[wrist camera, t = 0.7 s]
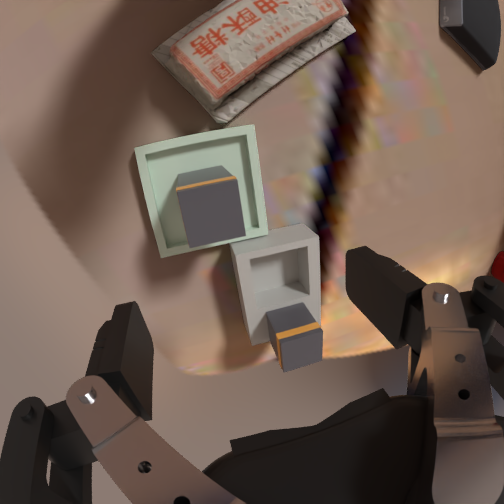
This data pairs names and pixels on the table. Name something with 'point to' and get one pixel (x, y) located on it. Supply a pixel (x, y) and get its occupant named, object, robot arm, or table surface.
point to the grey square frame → (281, 293)
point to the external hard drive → (473, 27)
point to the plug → (210, 206)
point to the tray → (194, 158)
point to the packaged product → (249, 48)
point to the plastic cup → (498, 267)
